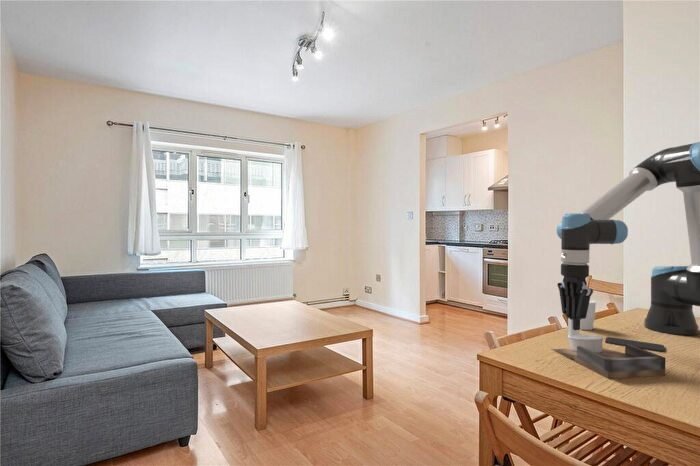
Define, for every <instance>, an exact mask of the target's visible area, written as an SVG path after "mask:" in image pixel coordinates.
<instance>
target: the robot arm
mask: <svg viewBox="0 0 700 466" xmlns="http://www.w3.org/2000/svg"><path fill="white" fill-rule="evenodd" d="M668 183H675V186H676V189H678V190H679V191H680V192H682V195H683V203H684V210H685V219H686V227H687V228H686V229H687V234H688V235H687V237H688V244H689V252H690V259H691V263H690V264H689V265H679V266H678V265H676V266H675V265H674V266H673V265H672V266H671V265H669V266H668V265H665V266H663V265H662V266H654V267H653V268H652V270H651V276H650V307H649V309H648V311H647V315H646V317H645V318H644V323H643V324H644V327H645V328H647V329H648V330H649V329H650V330H653V331H656V332H660V333H666V334H671V335H672V334H673V335H683V336H693V335H698V334H699V325H698V324H697V321H696V317H695V313H694V312H693V309H694V308H693V307H694V306H696V307H700V141H698V142H693V143H690V144H684V145H679V146H674V147H668V148H664V149H662V150H660V151H658V152H656V153H654V154H652V155H651V156H649V157H648V158H646V159H645V160H642V162H640V163H638V164H637V165H636V166H635V167H633V168H632V169H631V170H630V171H629V172H628V176H626V177H625V178H624V179H622V180H621V181H620V182H619V183H617V184H615V185H614V187H612V188H611V189H610V190H608V191H607V192H605V193H604V194H603V195H602V196H601V197H600V196H599V198H598V199H596V200H595V201H594V202H592V203H591V204H590V205H589V206H587V207H586V208H585V209H583V210H582V211H580V212H579V213H577V212H575V213H574V212H573V213H564V214H563V215H562V219H561V221H560V222H559V223H558V224H557V227H556V235H557V237H558V238H560V240H561V241H560V242H561V259H560V261H561V262H562V263H561V264H560V275H561V276H563V279H562V282H558V283H557V284H556V285H557V287H558V290H559V291H558V292H559V298H560V304H561V305H560V306H561V307H560V308H561V313H562V314H563V315H565V317H566V318H567V319H566V320H567V321H566V323H567V324H566V326H567V336H568V335H571V334H580V330H581V329H580V320H581V319H585V318H586V315H587V310H588V306H589V301H590V300H591V296H592V294H593V293H594V289H593V288H589V287H588V286H587V284H588V283H587V280H586V279H587V278H588V277H589V275H590V265H589V263H590V251H591V250H590V249H591V248H590V246H591V245H616V244H621V243H624V241H626V240H627V238H628V236H629V228H628V226H627V224H626V222H624V221H622V220H620V219H612V218H613V217H615V215H617V214H618V213H619V212H621V211H622V210H624V209H625V208H626V207H627V206H629V205H630V204H631V203H633V202H634V201H635V200H636V199H637V198H639V197H640V196H642V194H644V193H645V192H648V191H653V190H654V189H656V188H657V187H659V186H661V185H664V184H668ZM567 340H569V338H568V337H567Z"/></svg>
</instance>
